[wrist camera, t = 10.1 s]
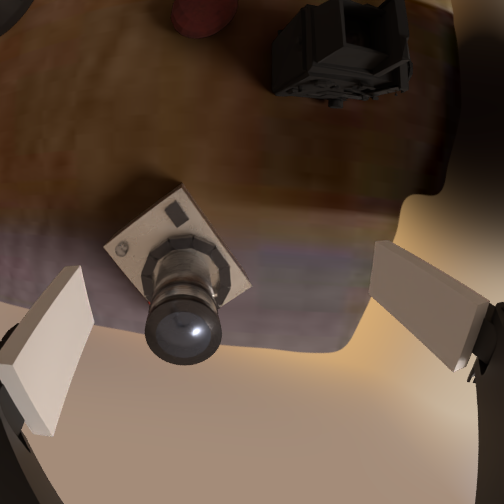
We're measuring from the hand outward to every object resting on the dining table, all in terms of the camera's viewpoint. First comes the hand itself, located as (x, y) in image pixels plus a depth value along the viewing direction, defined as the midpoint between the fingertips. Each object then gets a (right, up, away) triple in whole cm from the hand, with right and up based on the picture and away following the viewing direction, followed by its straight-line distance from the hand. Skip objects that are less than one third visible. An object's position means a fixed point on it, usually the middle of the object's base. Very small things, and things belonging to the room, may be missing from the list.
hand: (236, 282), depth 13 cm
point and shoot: (-9, +1, +26) cm, 28 cm away
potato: (-6, +30, +17) cm, 35 cm away
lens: (-7, -2, +22) cm, 23 cm away
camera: (+9, +25, +22) cm, 34 cm away
